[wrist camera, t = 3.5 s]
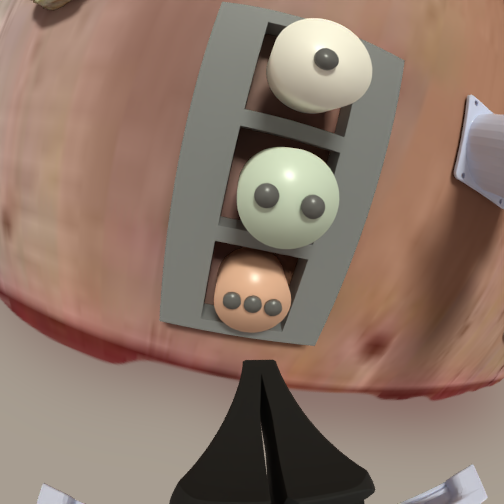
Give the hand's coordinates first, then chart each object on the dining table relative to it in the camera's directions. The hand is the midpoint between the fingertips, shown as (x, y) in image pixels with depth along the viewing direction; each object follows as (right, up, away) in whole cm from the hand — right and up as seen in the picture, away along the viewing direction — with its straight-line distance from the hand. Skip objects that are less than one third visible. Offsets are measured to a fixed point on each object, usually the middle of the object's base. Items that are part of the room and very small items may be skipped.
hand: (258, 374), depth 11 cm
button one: (+3, +15, +1) cm, 16 cm away
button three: (0, +4, +8) cm, 9 cm away
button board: (+1, +10, +6) cm, 12 cm away
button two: (+1, +9, +4) cm, 10 cm away
